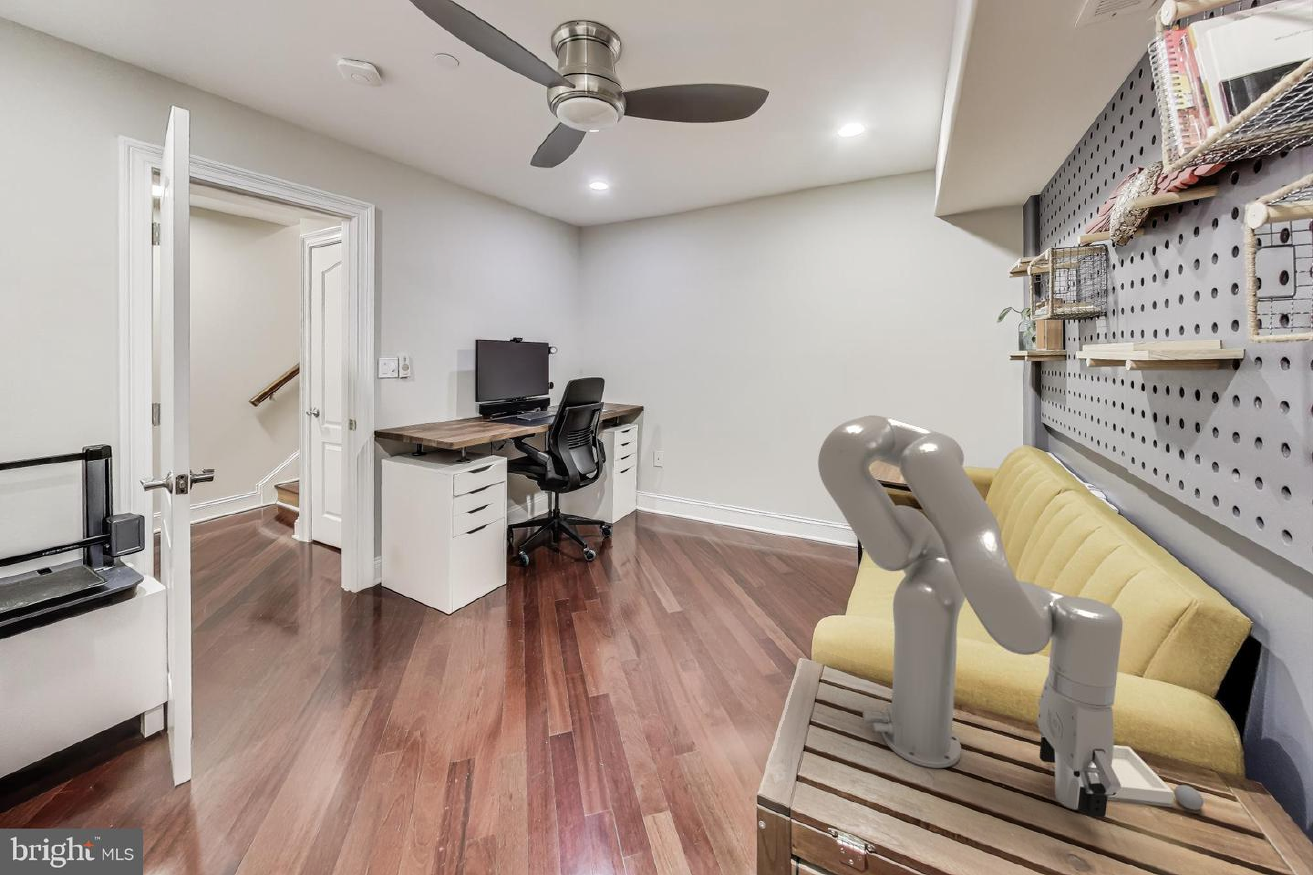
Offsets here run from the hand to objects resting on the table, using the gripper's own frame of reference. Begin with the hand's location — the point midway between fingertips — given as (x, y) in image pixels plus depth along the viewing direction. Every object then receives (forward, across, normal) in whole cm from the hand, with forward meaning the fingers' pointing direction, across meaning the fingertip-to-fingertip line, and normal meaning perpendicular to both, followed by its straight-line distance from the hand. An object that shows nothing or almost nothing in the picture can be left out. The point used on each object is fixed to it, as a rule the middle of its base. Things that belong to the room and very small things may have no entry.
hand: (1069, 785), depth 77 cm
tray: (+3, -6, +10) cm, 12 cm away
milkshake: (+3, 0, 0) cm, 3 cm away
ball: (+3, -2, +17) cm, 17 cm away
